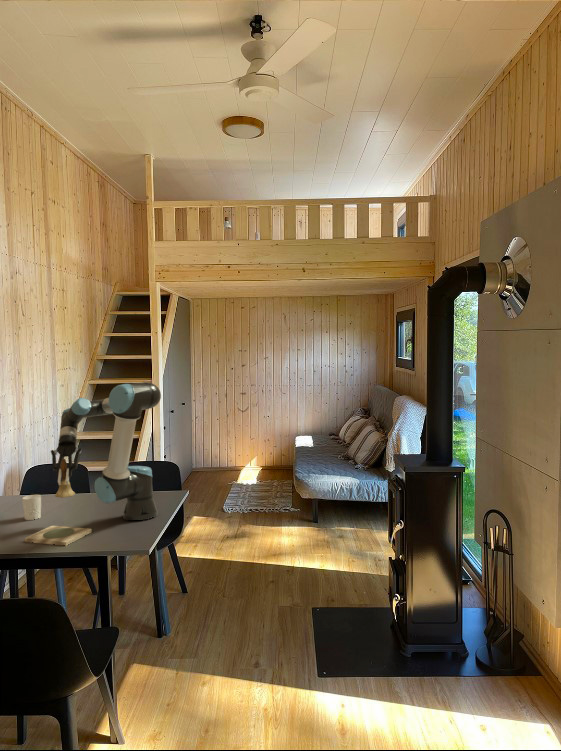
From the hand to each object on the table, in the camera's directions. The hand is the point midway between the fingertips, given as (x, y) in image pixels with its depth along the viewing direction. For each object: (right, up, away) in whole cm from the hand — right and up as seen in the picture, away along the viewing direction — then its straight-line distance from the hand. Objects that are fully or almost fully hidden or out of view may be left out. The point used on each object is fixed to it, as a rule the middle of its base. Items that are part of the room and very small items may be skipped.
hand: (63, 483), depth 235 cm
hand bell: (-1, -6, +4) cm, 8 cm away
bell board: (+2, -20, -10) cm, 23 cm away
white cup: (-21, -20, +17) cm, 33 cm away
